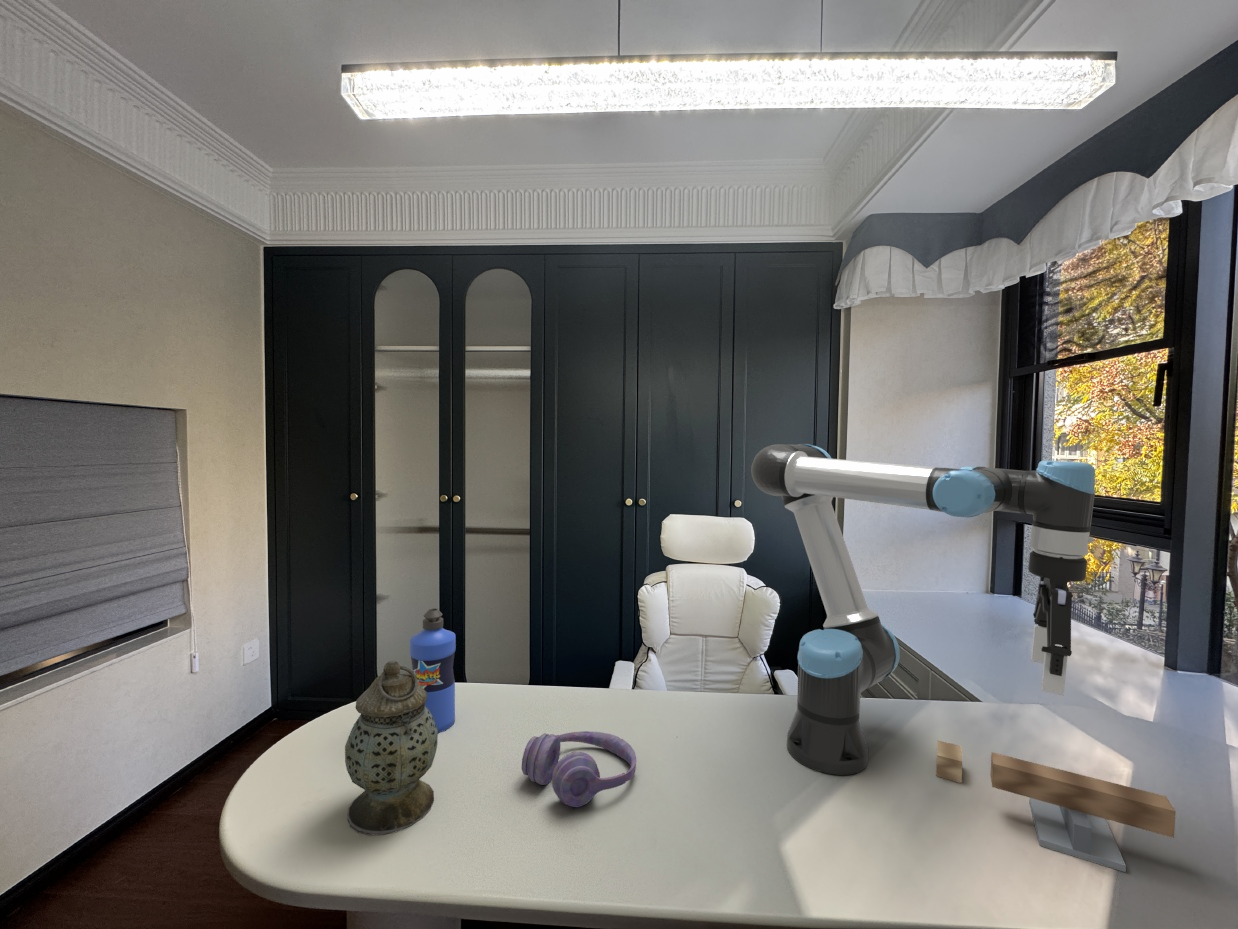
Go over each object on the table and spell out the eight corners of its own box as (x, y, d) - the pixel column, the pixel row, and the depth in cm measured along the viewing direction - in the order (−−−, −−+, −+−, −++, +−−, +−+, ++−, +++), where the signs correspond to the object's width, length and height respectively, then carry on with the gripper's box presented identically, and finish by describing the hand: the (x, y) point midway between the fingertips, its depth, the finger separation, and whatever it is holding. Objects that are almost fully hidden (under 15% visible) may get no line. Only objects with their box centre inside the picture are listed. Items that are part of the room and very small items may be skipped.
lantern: (441, 777, 100) (441, 642, 99) (431, 831, 86) (431, 675, 85) (358, 786, 97) (357, 647, 96) (334, 844, 83) (333, 682, 82)
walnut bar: (992, 787, 91) (993, 763, 91) (990, 774, 94) (991, 752, 94) (1174, 838, 80) (1175, 811, 80) (1164, 821, 83) (1166, 796, 83)
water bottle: (447, 735, 114) (447, 617, 113) (403, 734, 114) (402, 616, 113) (461, 713, 123) (461, 603, 122) (419, 712, 123) (419, 602, 122)
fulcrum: (1039, 845, 85) (1041, 814, 84) (1029, 802, 95) (1030, 774, 95) (1125, 872, 80) (1127, 839, 79) (1104, 823, 90) (1106, 794, 90)
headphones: (574, 826, 87) (653, 788, 101) (580, 773, 87) (658, 743, 102) (506, 776, 99) (585, 749, 114) (512, 730, 100) (590, 709, 114)
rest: (936, 776, 102) (937, 755, 102) (936, 760, 107) (937, 740, 107) (961, 783, 100) (962, 761, 100) (960, 766, 105) (961, 746, 105)
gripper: (1105, 573, 79) (1090, 715, 80) (1073, 544, 100) (1061, 657, 101) (1040, 564, 82) (1027, 700, 84) (1022, 538, 104) (1012, 647, 105)
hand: (1046, 676), depth 93 cm, fingers open, 13 cm apart
